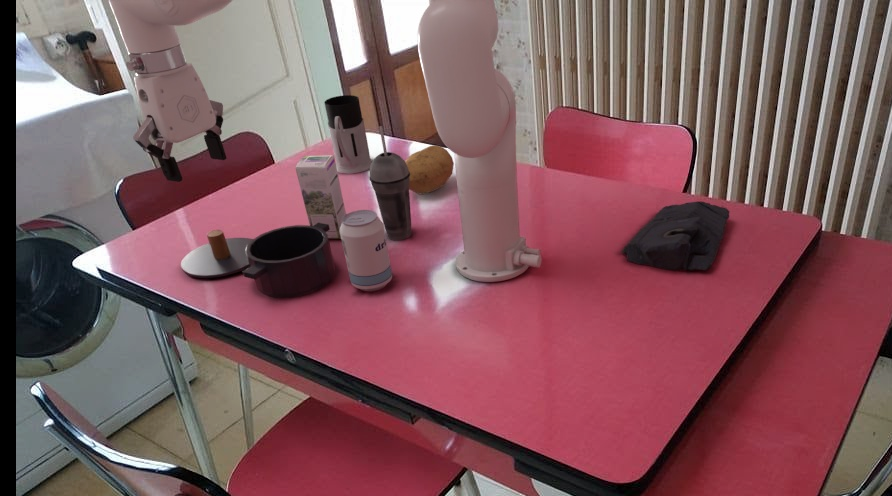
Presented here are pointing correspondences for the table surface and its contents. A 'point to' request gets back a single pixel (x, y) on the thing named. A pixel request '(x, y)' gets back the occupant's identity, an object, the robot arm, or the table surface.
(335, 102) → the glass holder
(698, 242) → the black folded cloth
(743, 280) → the table surface
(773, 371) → the table surface
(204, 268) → the lid
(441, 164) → the potato
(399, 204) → the beverage cup
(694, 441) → the table surface
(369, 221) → the beverage can
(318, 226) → the pan
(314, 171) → the syrup box
